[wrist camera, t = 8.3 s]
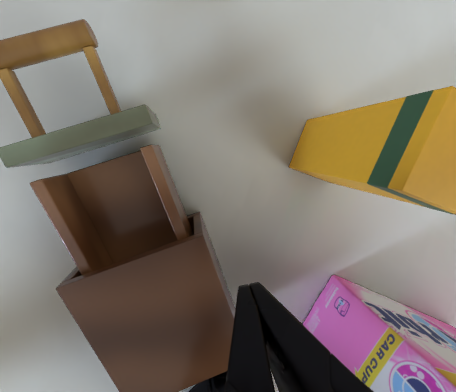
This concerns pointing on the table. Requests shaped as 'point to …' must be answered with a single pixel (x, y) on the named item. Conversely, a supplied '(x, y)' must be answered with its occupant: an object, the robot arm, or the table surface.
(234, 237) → the table surface
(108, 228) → the drawer
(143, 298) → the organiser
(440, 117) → the crayon box
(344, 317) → the gum box
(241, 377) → the robot arm
